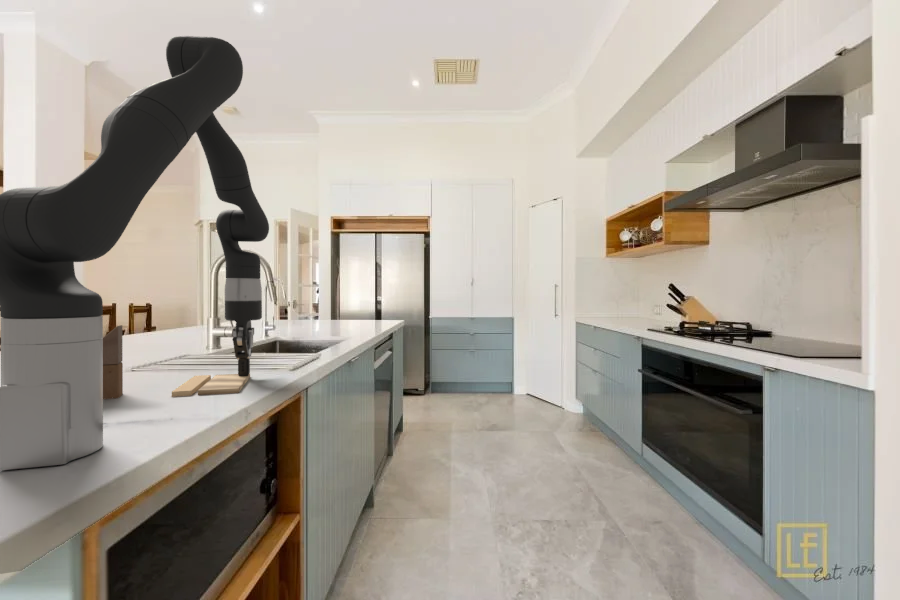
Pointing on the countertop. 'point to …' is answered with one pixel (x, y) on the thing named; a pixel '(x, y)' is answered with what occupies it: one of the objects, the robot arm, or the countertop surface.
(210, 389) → the board
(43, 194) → the robot arm
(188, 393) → the floor section
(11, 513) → the countertop surface
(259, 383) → the countertop surface
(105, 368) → the wooden block
